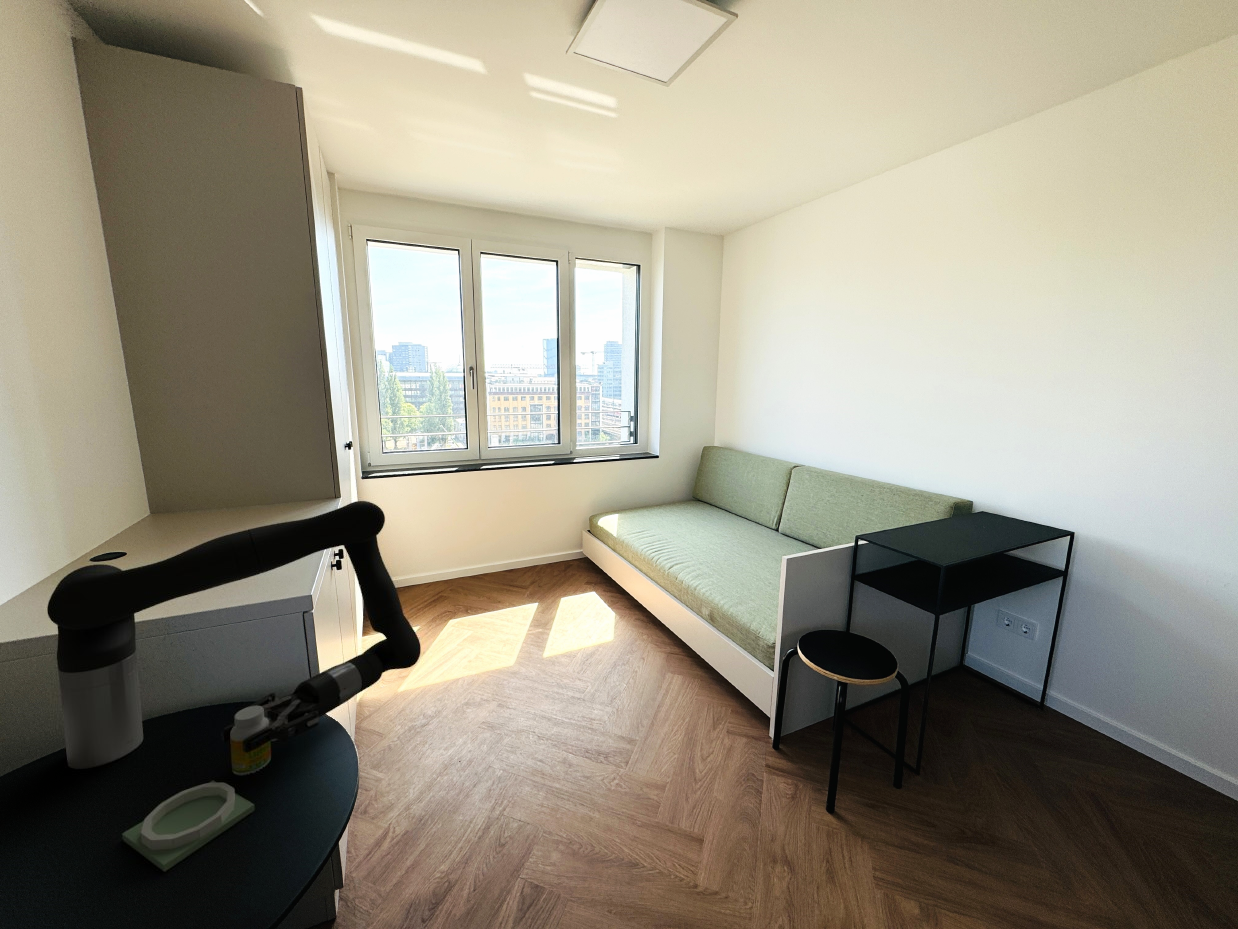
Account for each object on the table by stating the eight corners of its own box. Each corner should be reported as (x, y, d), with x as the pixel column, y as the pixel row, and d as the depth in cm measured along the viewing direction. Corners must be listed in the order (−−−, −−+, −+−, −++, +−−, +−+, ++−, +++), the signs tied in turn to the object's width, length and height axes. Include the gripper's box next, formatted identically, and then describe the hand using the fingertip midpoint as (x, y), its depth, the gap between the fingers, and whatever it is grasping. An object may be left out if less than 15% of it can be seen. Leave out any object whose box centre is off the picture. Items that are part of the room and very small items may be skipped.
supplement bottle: (250, 779, 80) (247, 725, 79) (223, 773, 81) (220, 719, 80) (279, 756, 85) (276, 705, 84) (253, 751, 86) (251, 700, 85)
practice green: (122, 840, 68) (121, 824, 68) (213, 786, 78) (212, 771, 78) (164, 872, 64) (163, 855, 64) (254, 810, 74) (253, 795, 74)
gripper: (305, 663, 98) (207, 708, 83) (354, 681, 92) (258, 733, 77) (306, 697, 99) (209, 749, 83) (355, 717, 93) (260, 777, 78)
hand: (233, 741), depth 80 cm, fingers closed on supplement bottle, 5 cm apart
